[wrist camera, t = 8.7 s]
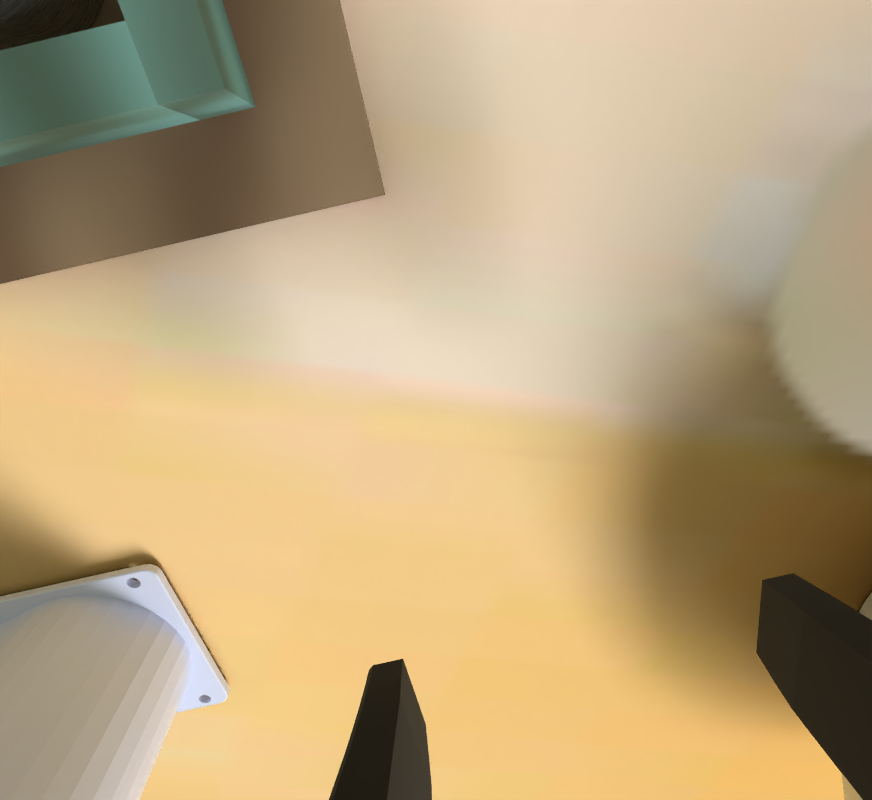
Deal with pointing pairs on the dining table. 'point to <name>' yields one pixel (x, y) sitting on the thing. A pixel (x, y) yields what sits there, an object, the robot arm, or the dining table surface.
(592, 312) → the dining table surface
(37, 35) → the steel pin
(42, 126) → the socket board
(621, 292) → the dining table surface
